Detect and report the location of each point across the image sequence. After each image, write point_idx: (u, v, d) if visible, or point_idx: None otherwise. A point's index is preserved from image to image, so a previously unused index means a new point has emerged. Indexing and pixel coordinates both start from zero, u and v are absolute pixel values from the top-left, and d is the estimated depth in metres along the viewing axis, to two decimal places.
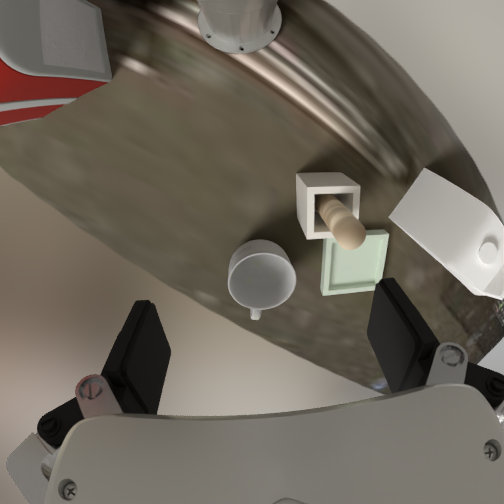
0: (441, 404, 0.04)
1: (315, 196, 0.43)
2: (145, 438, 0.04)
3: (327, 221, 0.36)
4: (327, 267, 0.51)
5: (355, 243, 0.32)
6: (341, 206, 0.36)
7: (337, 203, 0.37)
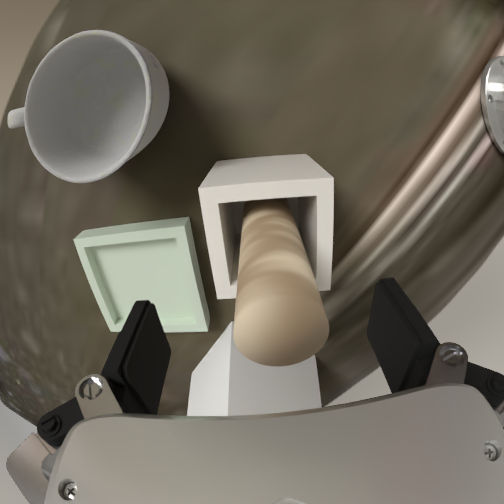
0: (441, 404, 0.04)
1: None
2: (145, 438, 0.04)
3: (274, 239, 0.14)
4: (125, 236, 0.25)
5: (256, 347, 0.11)
6: None
7: None
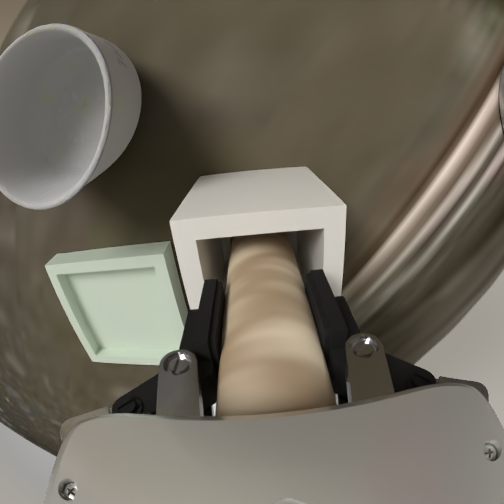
0: (441, 404, 0.04)
1: None
2: (145, 438, 0.04)
3: (269, 298, 0.10)
4: (98, 264, 0.21)
5: None
6: None
7: None
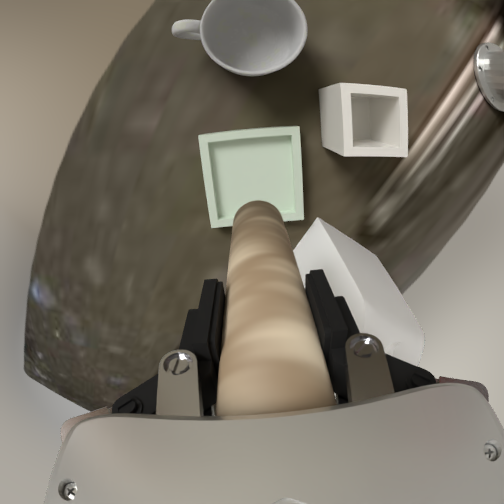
0: (441, 404, 0.04)
1: (273, 219, 0.17)
2: (145, 438, 0.04)
3: (269, 299, 0.10)
4: (250, 132, 0.32)
5: None
6: None
7: None
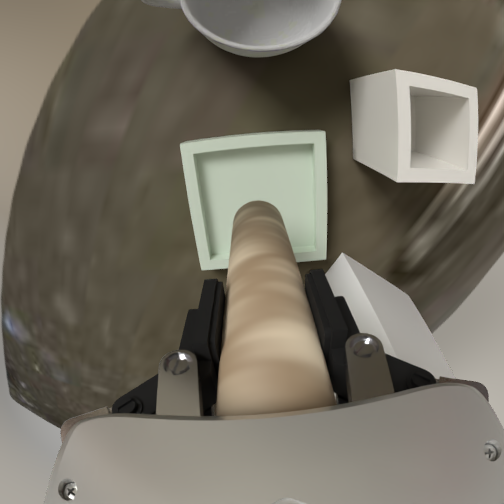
0: (441, 404, 0.04)
1: (273, 219, 0.17)
2: (145, 438, 0.04)
3: (269, 299, 0.10)
4: (255, 139, 0.22)
5: None
6: None
7: None
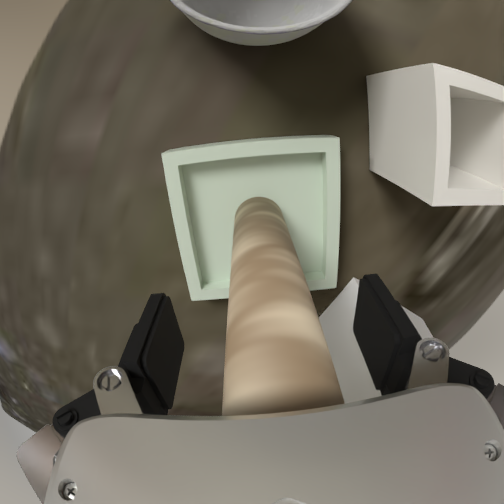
0: (441, 404, 0.04)
1: (274, 214, 0.18)
2: (145, 438, 0.04)
3: (272, 284, 0.11)
4: (253, 147, 0.18)
5: None
6: None
7: None
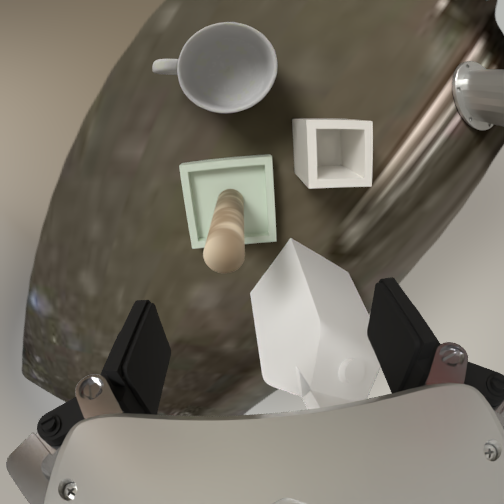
0: (441, 404, 0.04)
1: (235, 196, 0.36)
2: (145, 438, 0.04)
3: (225, 217, 0.28)
4: (226, 163, 0.36)
5: (213, 261, 0.25)
6: None
7: None
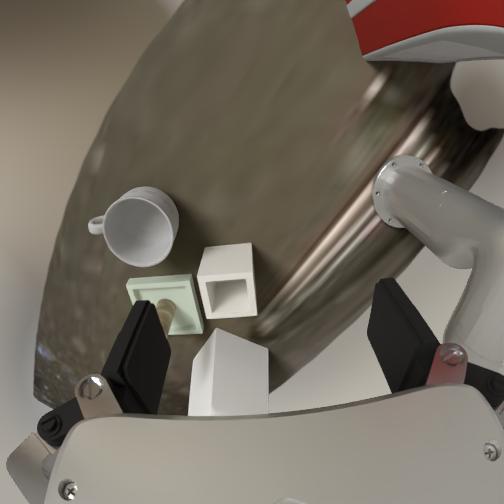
0: (441, 404, 0.04)
1: (165, 310, 0.48)
2: (145, 438, 0.04)
3: None
4: (157, 284, 0.48)
5: None
6: None
7: None
